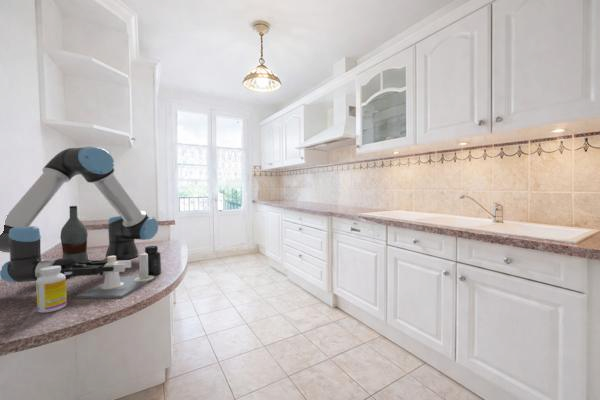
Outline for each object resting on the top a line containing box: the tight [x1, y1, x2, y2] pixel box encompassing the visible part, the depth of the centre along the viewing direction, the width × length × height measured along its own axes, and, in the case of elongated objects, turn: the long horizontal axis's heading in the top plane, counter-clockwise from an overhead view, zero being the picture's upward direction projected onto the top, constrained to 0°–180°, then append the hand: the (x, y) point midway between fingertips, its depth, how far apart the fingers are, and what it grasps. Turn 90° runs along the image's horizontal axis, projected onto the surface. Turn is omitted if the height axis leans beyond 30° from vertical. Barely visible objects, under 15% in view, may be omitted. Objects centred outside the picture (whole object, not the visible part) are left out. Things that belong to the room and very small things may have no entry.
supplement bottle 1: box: [35, 266, 68, 314], centre depth 80 cm, size 7×7×13 cm
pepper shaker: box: [103, 256, 121, 288], centre depth 97 cm, size 5×5×11 cm
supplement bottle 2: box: [144, 245, 162, 276], centre depth 114 cm, size 7×7×12 cm
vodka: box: [59, 205, 89, 263], centre depth 117 cm, size 9×9×30 cm
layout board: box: [75, 252, 157, 299], centre depth 98 cm, size 20×16×11 cm
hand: (127, 265), depth 97 cm, fingers open, 4 cm apart
